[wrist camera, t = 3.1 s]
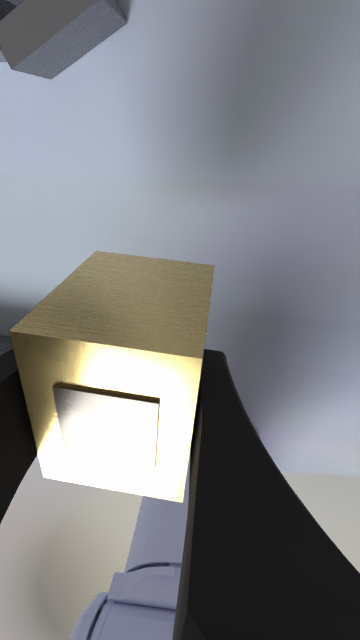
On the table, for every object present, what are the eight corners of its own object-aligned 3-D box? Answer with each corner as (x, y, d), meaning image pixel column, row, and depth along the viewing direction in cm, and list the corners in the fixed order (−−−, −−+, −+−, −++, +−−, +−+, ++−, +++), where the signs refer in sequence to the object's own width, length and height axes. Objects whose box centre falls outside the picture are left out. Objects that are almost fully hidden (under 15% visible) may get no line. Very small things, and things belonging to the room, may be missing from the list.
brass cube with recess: (198, 381, 13) (181, 506, 9) (103, 367, 14) (41, 480, 9) (214, 265, 11) (202, 361, 6) (96, 251, 11) (5, 333, 7)
